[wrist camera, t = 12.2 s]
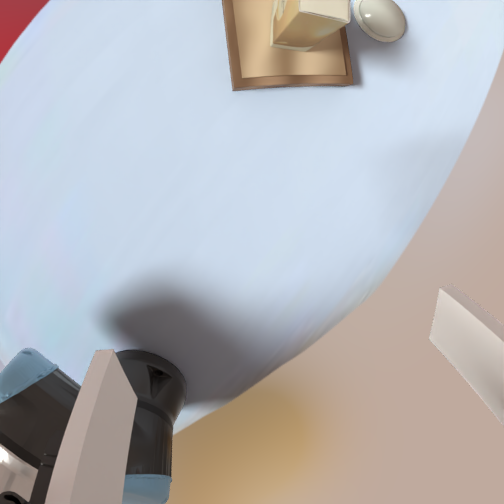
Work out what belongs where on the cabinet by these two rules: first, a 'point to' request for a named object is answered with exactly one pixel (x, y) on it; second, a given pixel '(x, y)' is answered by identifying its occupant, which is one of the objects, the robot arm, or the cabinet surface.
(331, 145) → the cabinet surface
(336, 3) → the skincare box
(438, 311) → the robot arm
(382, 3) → the trinket dish
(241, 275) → the cabinet surface
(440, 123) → the cabinet surface
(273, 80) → the tan square flat tray
